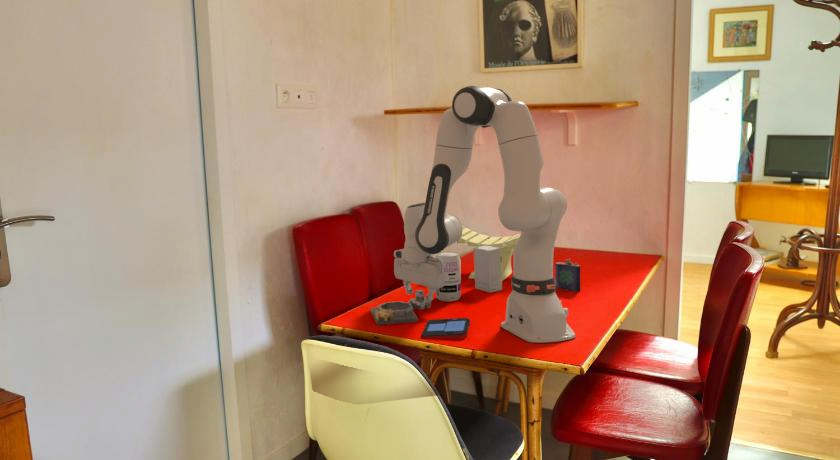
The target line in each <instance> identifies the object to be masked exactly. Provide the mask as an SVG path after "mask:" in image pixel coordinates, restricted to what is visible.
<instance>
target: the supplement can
mask: <svg viewBox="0 0 840 460" xmlns="http://www.w3.org/2000/svg"><path fill="white" fill-rule="evenodd" d="M435 258H438V259H439V260H440V261H441V263H442V265H443V270H444V277H445V285H444V286H443V287H442V288H438V289H436V290H435V297H436V299H437V300H438V301H440V302H441V301H442V302H455V301H458V300H459V299H461V296H462V287H461V286H462V284H461V283H462V281H461V280H462V276H461V275H462V272H461V271H462V269H461V267H462V266H461V265H462V263H461V257H460V255H459V252H456V251H454V252H453V251H441V252H439V253H437V254H436V256H435Z"/></svg>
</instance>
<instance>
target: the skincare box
mask: <svg viewBox="0 0 840 460" xmlns="http://www.w3.org/2000/svg"><path fill="white" fill-rule="evenodd" d="M473 263H474V264H473V265H474V266H473V267H474V271H475V279H474V283H475V285H474V288H475V289H476V290H479V291H483V292H487V293H494V292H499V291H500V292H501V291H502V290H503V281H502V275H501V254H500V248H497V247H491V246H486V245H485V246H480V247H477V246H474V247H473Z"/></svg>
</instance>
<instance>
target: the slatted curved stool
mask: <svg viewBox="0 0 840 460" xmlns="http://www.w3.org/2000/svg"><path fill="white" fill-rule="evenodd" d="M520 235H521V233H518V234H515V235H509V236H503V237H502V236H491V235H486V234H481V233H479V232H477V231H472V229H470V228H467V227H465V226H464V225H462V235H461V237H460V239H459V240H458V241H457V242H456V244H457V245H458V244H467V247H480V246H485V245H486V246H491V247H497V248H500V254H501V275H502V282H503V281H504V280H506V279H507V278H508V277H509V276H510V275H511V274H512V273H513V270H512V258H513V257H512V256H513V251H514V248H515V245H516V244H517V242H518V240H519V238H520ZM468 279H472V280H473V279H474V280H475V270H473V271H472V272H471V273H470V274H469V276H468Z"/></svg>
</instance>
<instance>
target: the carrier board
mask: <svg viewBox="0 0 840 460" xmlns="http://www.w3.org/2000/svg"><path fill="white" fill-rule="evenodd" d="M369 310H370V314H371V315H372V317H373V320H374V321H375V323H376V325H377V326H385V324H386V325H395V324H396V323H397V324H407V323H417V322H419V318H418V316H417V314H415V312H414V309H413V306H412V305H411V303H409V302H406V301H399V300H398V301H397V300H396V301H388V302H384V303H381V304H378V305H377V306H376V307H370V308H369Z"/></svg>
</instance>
